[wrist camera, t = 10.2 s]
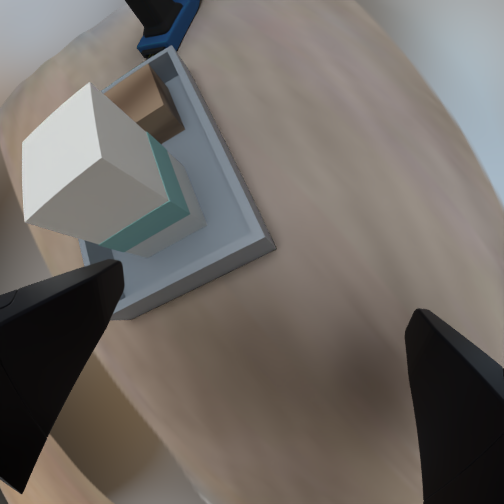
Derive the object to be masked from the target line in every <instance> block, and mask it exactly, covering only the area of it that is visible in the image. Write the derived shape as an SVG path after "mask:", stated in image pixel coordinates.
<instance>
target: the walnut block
mask: <svg viewBox="0 0 504 504" xmlns="http://www.w3.org/2000/svg"><path fill="white" fill-rule="evenodd" d="M104 95H105V96H106V97H108V98H109V99H110V100H111V101H112V102H113V103H114V104H115V105H117V106H118V107H119V108H120V109H121V110H122V111H123V112H124V113H125V114H127V115H128V116H129V117H130V118H131V119H132V120H133V121H134V122H136V123H137V124H138V125H139V126H140V127H141V128H142V129H143V130H144V131H145V132H146V131H147V132H148V133H149V134H150V135H151V136H152V137H154V138H155V139H156V140H157V141H158V142H159V143H160V144H162V143H164V142H166V141H167V140H169V139H170V138H172V137H174V136H175V135H177V134H179V133H180V132H182V131H184V130H185V128H184V125H183V123H182V120H181V118H180V116H179V113H178V111H177V108H176V106H175V104H174V101H173V99H172V96H171V94H170V92H169V89H168V87H167V86H166V85H165V84H164V82H163V81H162V80H161V79H160V77H159V76H158V75H157V74H156V72H155V71H154V70H153V69H152V68H151V66H150V65H149V64H146V65H145V66H143V67H142V68H140V69H139V70H137V71H136V72H134V73H133V74H131V75H130V76H128V77H127V78H125V79H124V80H122V81H121V82H119V83H118V84H117V85H115V86H114V87H112V88H111V89H110V90H108V91H107V92H105V93H104Z"/></svg>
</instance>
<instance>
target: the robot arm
mask: <svg viewBox="0 0 504 504" xmlns="http://www.w3.org/2000/svg"><path fill="white" fill-rule="evenodd" d="M124 287H125V282H124V272H123V264H122V262H121V261H119V260H114V259H107V260H103V261H100V262H97V263H94V264H91V265H88V266H85V267H82V268H79V269H76V270H73V271H70V272H67V273H64V274H61V275H58V276H55V277H52V278H49V279H46V280H43V281H40V282H37V283H34V284H31V285H28V286H25V287H22V288H20V289H18V290H14V291H11V292H8V293H5V294H2V295H0V480H2V481H3V482H4V483H6V484H7V485H9V486H10V487H11V488H13V489H14V490H16V491H17V492H19V493H20V494H22V493H23V492H24V490H25V487H26V485H27V482H28V480H29V478H30V475H31V473H32V471H33V468H34V466H35V464H36V462H37V459H38V457H39V455H40V453H41V451H42V448H43V446H44V444H45V442H46V440H47V437H48V435H49V433H50V431H51V429H52V427H53V425H54V423H55V421H56V419H57V417H58V415H59V413H60V411H61V409H62V407H63V405H64V403H65V401H66V399H67V397H68V396H69V394H70V392H71V390H72V388H73V386H74V384H75V382H76V380H77V379H78V377H79V375H80V373H81V371H82V370H83V368H84V366H85V364H86V362H87V361H88V359H89V357H90V355H91V354H92V352H93V350H94V348H95V347H96V345H97V343H98V342H99V340H100V338H101V336H102V335H103V333H104V331H105V329H106V328H107V325H108V323H109V321H110V319H111V317H112V315H113V313H114V310H115V308H116V306H117V304H118V302H119V300H120V298H121V296H122V293H123V291H124ZM405 344H406V354H407V365H408V375H409V382H410V388H411V394H412V400H413V406H414V412H415V419H416V426H417V433H418V441H419V450H420V459H421V470H422V483H423V500H424V502H423V504H504V368H502V366H501V365H499V364H498V363H497V362H496V361H494V360H493V359H492V358H491V357H489V356H488V355H487V354H486V353H484V352H483V351H482V350H481V349H479V348H478V347H477V346H476V345H474V344H473V343H472V342H470V341H469V340H468V339H467V338H465V337H464V336H463V335H461V334H460V333H459V332H457V331H456V330H455V329H454V328H452V327H451V326H450V325H448V324H447V323H446V322H444V321H443V320H442V319H440V318H439V317H438V316H436V315H435V314H434V313H432V312H431V311H430V310H427V309H420V308H418V309H416V310H415V311H414V313H413V315H412V317H411V319H410V322H409V324H408V326H407V328H406V331H405Z"/></svg>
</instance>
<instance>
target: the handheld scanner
mask: <svg viewBox="0 0 504 504" xmlns="http://www.w3.org/2000/svg"><path fill="white" fill-rule="evenodd" d="M125 1H126V3H127V4H128V5H129V7H130V8H131V10H132V11H133V12H134V14H135V15H136V16H137V18H138V19H139V20H140V22H141V23H142V24H143V26H144V32H143V37H142V38H141V40H140V42H139V44H138V46H137V49H138V50H139V51H140V53H141V54H142V56H143V57H144V58H151V57H153V56H154V55H156V54H158V53H159V52H161V51H163V50H164V49H166V48H168V47H169V46H171V45H172V46H173V48H174V49H175V50H176V51H177V49H178V47H179V45H180V43H181V41H182V39H183V37H184V35H185V33H186V31H187V29H188V27H189V25H190V23H191V22H192V20H193V18H194V16H195V14H196V12H197V10H198V7H199V3H200V0H125Z"/></svg>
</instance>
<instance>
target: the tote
mask: <svg viewBox="0 0 504 504" xmlns="http://www.w3.org/2000/svg"><path fill="white" fill-rule="evenodd" d="M146 64H149V65H150V66H151V68H152V69H153V70H154V71H155V72H156V74H157V75H158V76H159V77H160V79H161V80H162V81H163V82H164V84H165V85H166V86H167V87H168V89H169V92H170V94H171V96H172V99H173V101H174V104H175V106H176V108H177V111H178V113H179V116H180V118H181V120H182V123H183V125H184V128H185V130H184V131H182V132H180V133H179V134H177V135H175V136H174V137H172V138H170V139H169V140H167V141H166V142H164V143H162V144H161V145H162V146H163V147H165V148H166V150H167V151H168V152H169V153H170V154H171V155H172V156H173V157H174V158H175V159H176V160H177V161H179V162H180V163H181V164H182V165H183V166H184V168H185V170H186V173H187V175H188V178H189V180H190V183H191V186H192V188H193V191H194V193H195V196H196V198H197V201H198V203H199V206H200V208H201V211H202V213H203V216H204V218H205V221H206V223H207V226H205V227H203V228H201V229H199V230H198V231H196V232H194V233H192V234H190V235H188V236H186V237H185V238H183V239H181V240H179V241H177V242H175V243H174V244H172V245H170V246H168V247H166V248H165V249H163V250H161V251H159V252H157V253H156V254H154V255H152V256H150V257H148V258H146V257H142V256H138V255H135V254H131V253H127V252H120V251H116V250H113V249H109V248H106V247H102V246H99V245H98V244H96V243H92V242H89V241H85V240H82V239H79V244H80V249H81V253H82V258H83V262H84V266H88V265H91V264H94V263H97V262H100V261H103V260H107V259H114V260H119V261H121V262H122V264H123V272H124V282H125V287H124V291H123V293H122V296H121V298H120V300H119V302H118V304H117V306H116V308H115V310H114V313H113V315H112V317H111V319H110V320H131V319H133V318H136V317H138V316H140V315H142V314H144V313H146V312H148V311H150V310H152V309H154V308H156V307H158V306H160V305H163V304H165V303H167V302H169V301H171V300H173V299H175V298H177V297H179V296H181V295H183V294H185V293H187V292H189V291H191V290H193V289H196V288H198V287H200V286H202V285H204V284H206V283H208V282H210V281H212V280H214V279H216V278H218V277H220V276H222V275H224V274H226V273H228V272H230V271H232V270H234V269H237V268H239V267H241V266H243V265H245V264H247V263H249V262H251V261H253V260H255V259H257V258H259V257H261V256H263V255H265V254H267V253H269V252H271V251H273V250H275V249H277V248H276V246H275V244H274V242H273V240H272V238H271V236H270V233H269V231H268V229H267V227H266V225H265V223H264V221H263V219H262V217H261V215H260V212H259V210H258V208H257V206H256V204H255V202H254V200H253V198H252V196H251V194H250V192H249V190H248V188H247V185H246V183H245V181H244V179H243V177H242V175H241V173H240V171H239V169H238V167H237V165H236V163H235V161H234V159H233V157H232V155H231V153H230V151H229V149H228V147H227V145H226V143H225V141H224V139H223V137H222V135H221V133H220V131H219V129H218V127H217V125H216V123H215V121H214V119H213V117H212V115H211V113H210V111H209V109H208V107H207V105H206V103H205V101H204V99H203V97H202V95H201V93H200V91H199V89H198V87H197V85H196V83H195V81H194V79H193V77H192V75H191V73H190V71H189V70H188V68H187V67H186V65H185V64H184V62H183V61H182V59H181V58H180V56H179V55H178V53H177V52H176V50H175V49H174V48H173V46H172V45H171V46H169V47H168V48H166V49H164V50H163V51H161V52H159V53H158V54H156V55H154V56H153V57H151V58H149V59H148V60H146V61H145V62H143V63H141V64H140V65H138V66H137V67H135V68H134V69H132V70H131V71H129V72H128V73H126V74H125V75H123V76H122V77H120V78H119V79H118V80H116V81H115V82H113V83H112V84H111V85H109V86H108V87H106V88H105V89H104V90H102V91H101V92H102V93H103V94H104V93H105V92H107V91H108V90H110V89H111V88H112V87H114V86H115V85H117V84H118V83H119V82H121V81H122V80H124V79H125V78H127V77H128V76H130V75H131V74H133V73H134V72H136V71H137V70H139V69H140V68H142V67H143V66H145V65H146Z"/></svg>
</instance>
